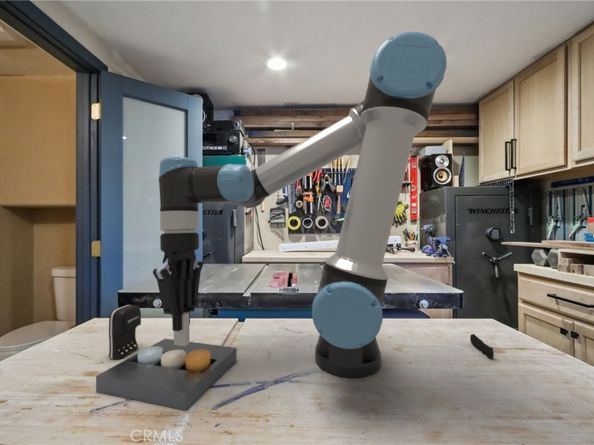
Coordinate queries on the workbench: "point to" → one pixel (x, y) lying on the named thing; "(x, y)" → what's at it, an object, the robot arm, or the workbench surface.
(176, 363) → the ivory button
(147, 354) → the pale blue button
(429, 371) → the workbench surface
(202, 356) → the orange button
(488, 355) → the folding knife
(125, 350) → the battery charger
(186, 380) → the panel
